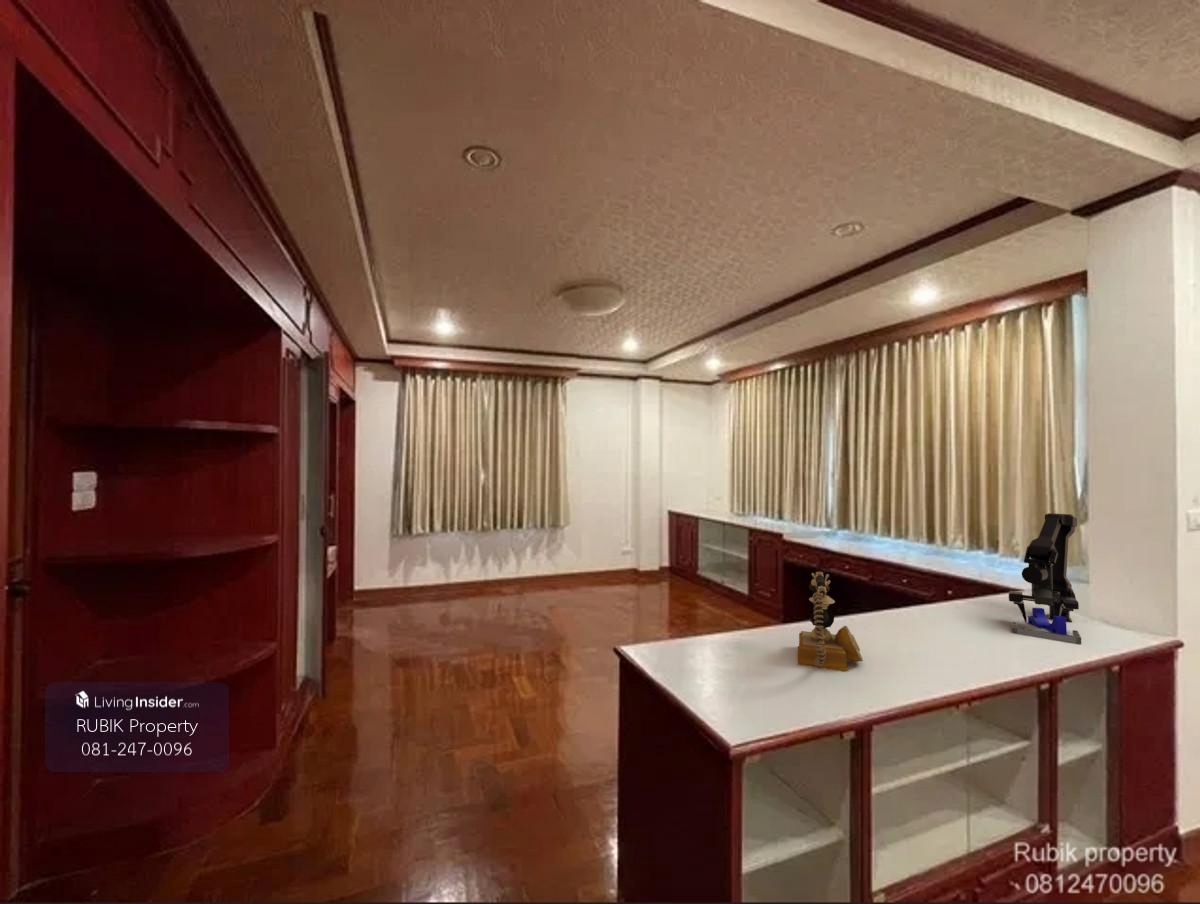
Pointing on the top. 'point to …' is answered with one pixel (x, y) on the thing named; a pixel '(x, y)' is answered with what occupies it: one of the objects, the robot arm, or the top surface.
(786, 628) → the top surface
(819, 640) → the jack-in-the-box toy
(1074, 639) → the rail bay
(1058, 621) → the cable clip
